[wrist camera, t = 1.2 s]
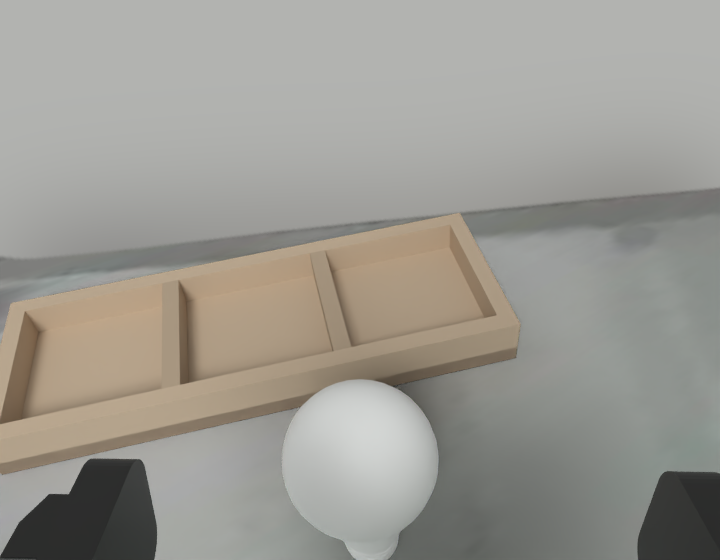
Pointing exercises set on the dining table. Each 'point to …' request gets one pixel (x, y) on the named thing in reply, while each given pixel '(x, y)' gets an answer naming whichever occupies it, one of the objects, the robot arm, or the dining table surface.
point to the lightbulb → (360, 464)
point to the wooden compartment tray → (244, 338)
